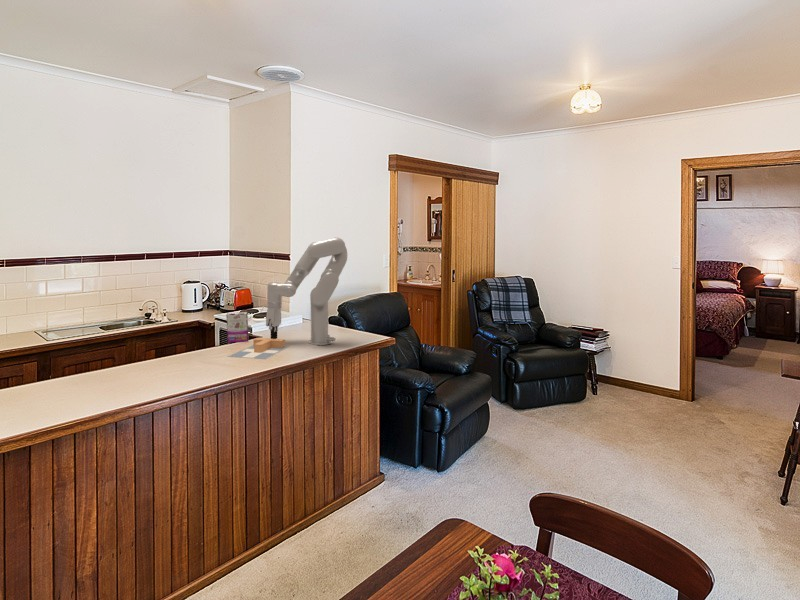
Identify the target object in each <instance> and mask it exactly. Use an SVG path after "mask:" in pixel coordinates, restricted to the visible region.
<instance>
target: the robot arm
mask: <svg viewBox="0 0 800 600" xmlns="http://www.w3.org/2000/svg"><path fill="white" fill-rule="evenodd" d="M330 256H331V258H330V259H329V261H328V263H327V265H326V267H325V269H324V270H323V271H322V273H321V274H320V278H319V281H318V282H317V283H316V285H315V286H314V288H313V289H312V290H311V291H310V295H309V297H310V340H308V343H307V344H309V345H312V346H327V345H330V344H331V343H332V342H336V337H334V336H332V337H331V335H330V334H329V301H330V299H331V297H332V296H333V294H334V292H335V290H336V288H337V287H338V284H339V281H340V278H339V277H340V275H341V274H342V271H343V270H344V268H345V266H346V264H347V261H348V250H347V246H346V243H345V241H344V239H342V238H341V237H333V238H330V239H325V240H322V241H315V242H311V243H310V244H309V245H308V246H307V248H306V250H305V251H304V252H303V254H302V255H301V257H300V258H299V260H298V261H297V263H296V264H295V266H294V268H293V270H291V271H292V272H291V273H290V274H289V276H288V277H287V279H286V280H285V282H284V283H281V282H275V281H274V282H269V283H268V284H267V295H266V296H267V299H266V300H267V301H266V302H267V303H266V304H267V305H266V307H267V308H266V309H267V310H266V317H265V326H266V327H268V330H269V331H270V339H278V331H279V327H280V325H281V324H282V308H283V307H282V305H283V304H282V300H283V299H282V298H283V297H285V298H291V297H294V296H295V294H296V292H297V290H298V288H299V287H300V285H301V284H302V282H303V281H304V279H306V278H307V276H309V275H310V273H311V272H312V271H313V269H314V268H315V266H316V264H317V263H318V262H319V260H320V259H322V258H326V257H330Z"/></svg>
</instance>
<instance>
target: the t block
mask: <svg viewBox="0 0 800 600" xmlns="http://www.w3.org/2000/svg"><path fill="white" fill-rule="evenodd" d="M252 341H253V344H252V345H254V352H261V353H262V352H264V351H266V350H268V349H270V348H284V347H285V346H286V345H285V344H286V339H283V338H282V339H281V338H279V339H278V338H277V339H271V338H265V337H264V338H263V337H256V338H253V340H252Z"/></svg>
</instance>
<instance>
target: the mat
mask: <svg viewBox="0 0 800 600" xmlns="http://www.w3.org/2000/svg"><path fill="white" fill-rule="evenodd" d="M289 347H291V345H285V347H284V348H270V349H268V350H266V351H264V352H262V353H261V352H254V345H253V344H252V345H251V346H248V347H246V348H244V349H241V350H239V351H237V352H234V353H232V354H230V355H228V356H227V358H239V359H241V358H244V359H254V360H255V359H256V360H257V359H258V360H267V359H269V358H270V357H273V356H274V355H276V354H278V353H280V352H282V351H283V350H286V349H287V348H289Z"/></svg>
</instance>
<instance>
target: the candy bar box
mask: <svg viewBox="0 0 800 600" xmlns="http://www.w3.org/2000/svg"><path fill="white" fill-rule="evenodd" d="M225 315H226V333H227V334H226V335H227V337H226V338H227V339H226V341H227V344H235V343H248V342H249V319H248V318H249V317H248V315H249V314H248V312H247V311H245V312H243V311H241V312H227V313H226V314H225Z"/></svg>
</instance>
